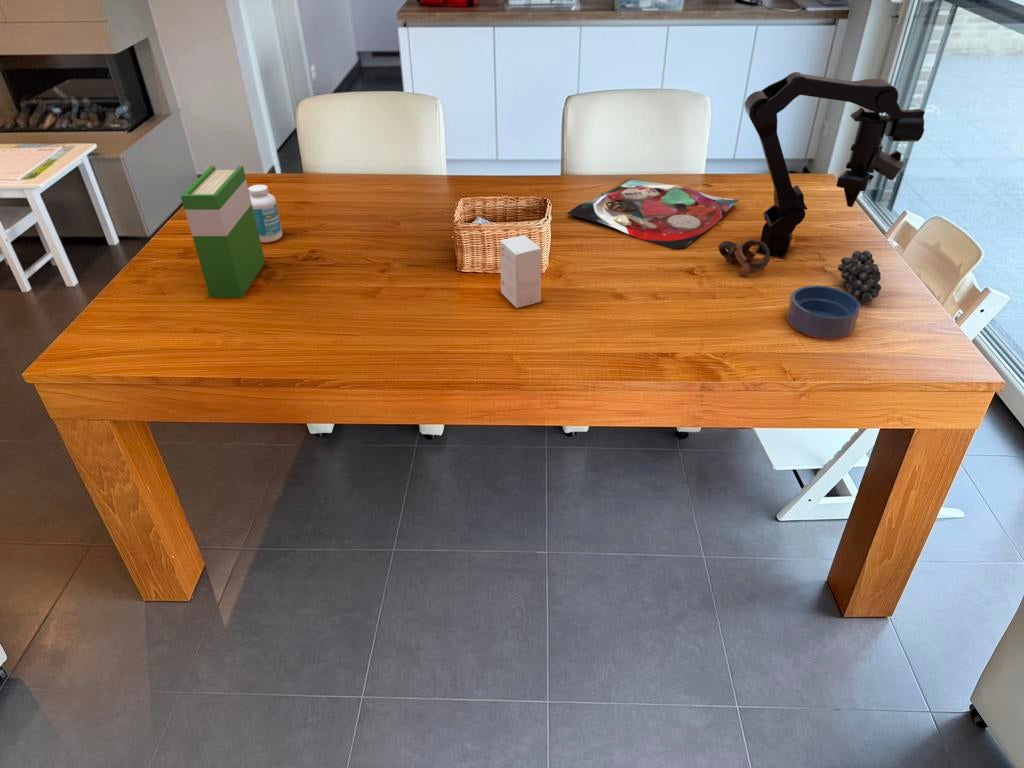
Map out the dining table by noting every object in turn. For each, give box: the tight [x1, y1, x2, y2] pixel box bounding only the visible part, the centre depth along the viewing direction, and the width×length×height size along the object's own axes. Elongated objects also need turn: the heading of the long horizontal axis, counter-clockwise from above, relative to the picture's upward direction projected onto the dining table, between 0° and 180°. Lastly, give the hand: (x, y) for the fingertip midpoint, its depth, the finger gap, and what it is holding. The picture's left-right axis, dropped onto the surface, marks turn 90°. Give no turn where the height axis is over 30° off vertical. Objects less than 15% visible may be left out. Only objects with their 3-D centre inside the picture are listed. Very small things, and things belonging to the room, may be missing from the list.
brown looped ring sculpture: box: [717, 238, 771, 277], centre depth 174 cm, size 12×10×8 cm
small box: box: [499, 234, 543, 309], centre depth 161 cm, size 8×6×13 cm
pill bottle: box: [248, 184, 283, 244], centre depth 188 cm, size 8×7×14 cm
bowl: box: [786, 285, 862, 340], centre depth 153 cm, size 13×13×6 cm
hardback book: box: [180, 165, 266, 299], centre depth 166 cm, size 18×7×24 cm, turn 179°
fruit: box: [837, 250, 882, 305], centre depth 163 cm, size 9×8×15 cm
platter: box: [565, 179, 740, 250], centre depth 202 cm, size 35×35×2 cm
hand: (850, 206), depth 175 cm, fingers closed
